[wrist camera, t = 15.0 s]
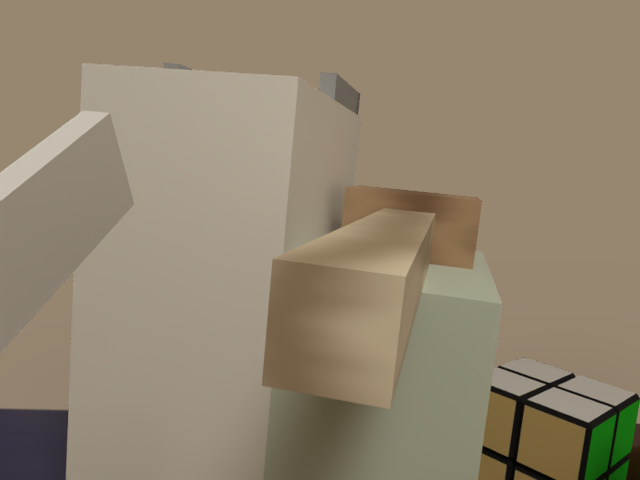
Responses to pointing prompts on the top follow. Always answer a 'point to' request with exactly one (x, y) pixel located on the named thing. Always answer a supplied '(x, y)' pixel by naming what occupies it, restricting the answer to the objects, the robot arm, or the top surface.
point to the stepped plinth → (248, 297)
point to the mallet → (361, 292)
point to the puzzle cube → (555, 425)
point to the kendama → (634, 463)
